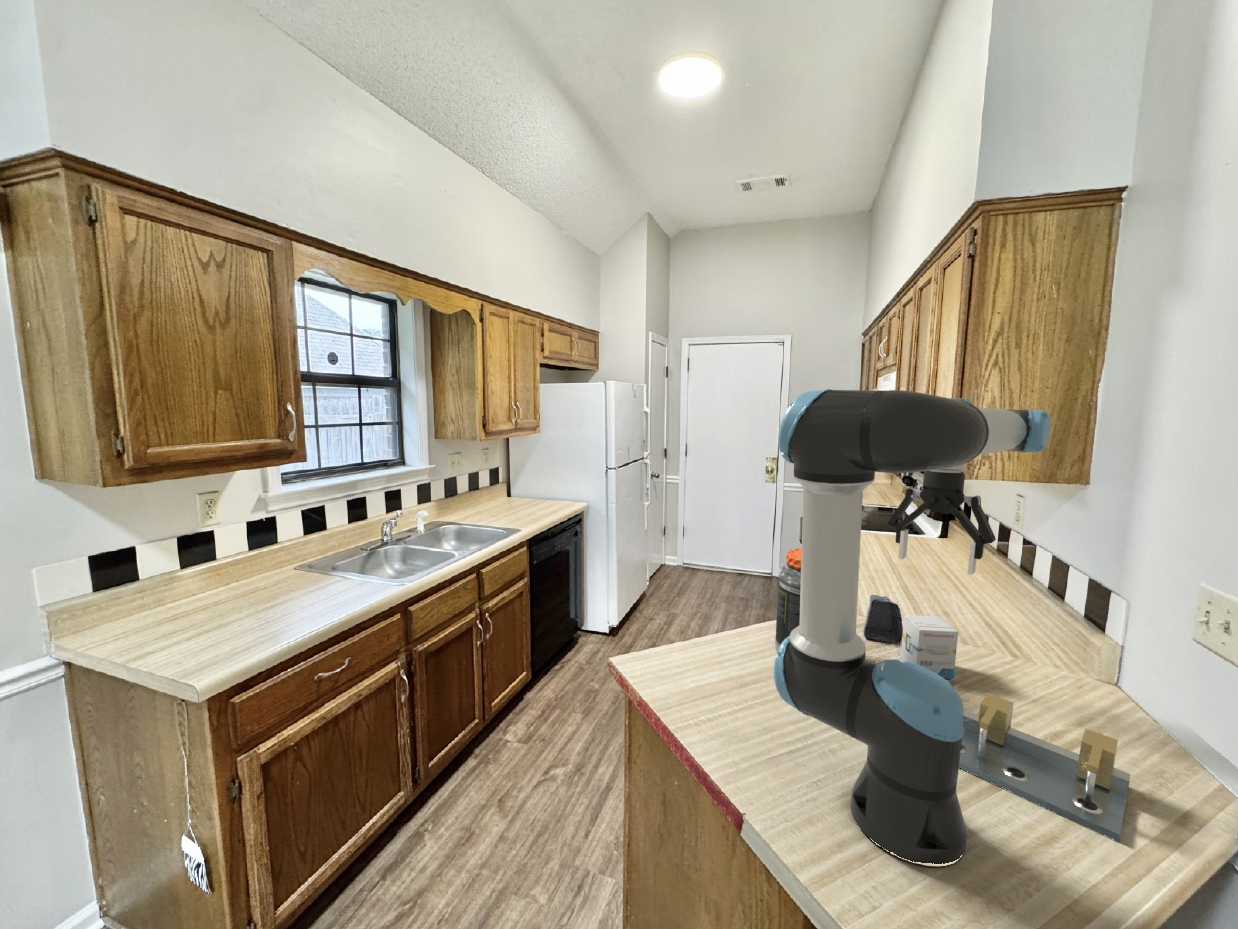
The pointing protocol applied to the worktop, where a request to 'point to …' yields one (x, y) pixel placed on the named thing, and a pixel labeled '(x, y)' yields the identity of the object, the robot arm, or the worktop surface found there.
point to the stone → (883, 620)
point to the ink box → (930, 644)
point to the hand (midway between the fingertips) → (935, 565)
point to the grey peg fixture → (1054, 774)
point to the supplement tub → (788, 597)
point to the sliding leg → (993, 721)
